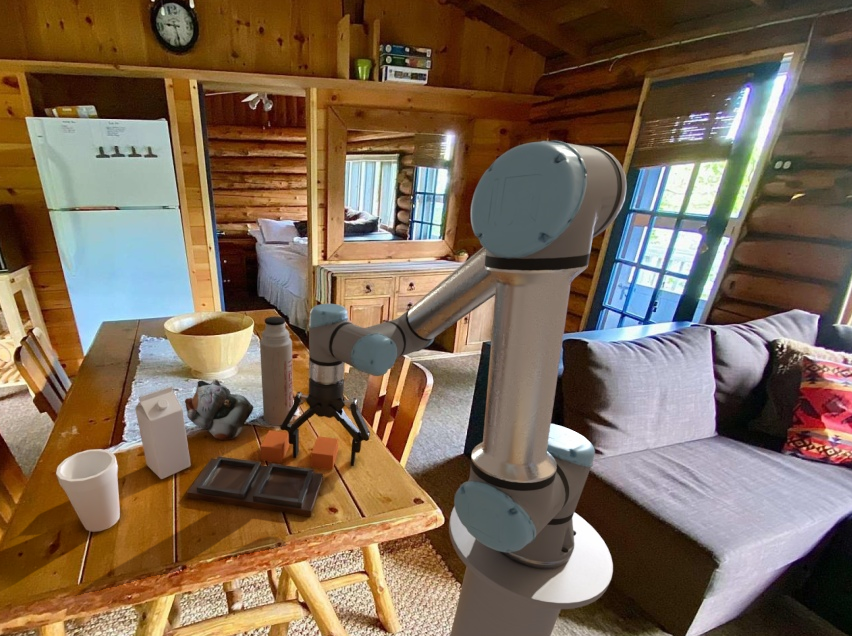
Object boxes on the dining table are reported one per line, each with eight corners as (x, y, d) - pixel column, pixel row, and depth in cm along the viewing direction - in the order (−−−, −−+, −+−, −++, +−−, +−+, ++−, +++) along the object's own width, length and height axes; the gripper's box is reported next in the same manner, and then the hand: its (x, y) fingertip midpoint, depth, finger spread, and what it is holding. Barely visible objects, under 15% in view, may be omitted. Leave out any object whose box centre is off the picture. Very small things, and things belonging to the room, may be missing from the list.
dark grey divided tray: (323, 478, 97) (323, 468, 96) (311, 516, 86) (311, 506, 85) (211, 463, 101) (210, 453, 99) (187, 498, 90) (185, 487, 89)
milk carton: (146, 465, 99) (131, 391, 91) (175, 453, 104) (164, 381, 95) (161, 480, 95) (146, 403, 86) (191, 466, 99) (180, 392, 91)
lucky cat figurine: (231, 446, 107) (197, 404, 100) (200, 448, 114) (166, 409, 107) (262, 405, 116) (232, 364, 110) (232, 409, 124) (202, 371, 117)
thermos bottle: (299, 415, 121) (298, 317, 108) (281, 428, 115) (278, 326, 102) (276, 407, 124) (272, 311, 112) (257, 419, 118) (251, 319, 106)
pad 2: (337, 452, 106) (338, 438, 104) (332, 470, 100) (333, 455, 98) (317, 449, 107) (317, 436, 105) (311, 467, 100) (311, 452, 99)
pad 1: (289, 446, 108) (289, 432, 106) (281, 463, 101) (281, 448, 100) (269, 443, 108) (269, 430, 107) (260, 460, 102) (259, 446, 100)
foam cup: (139, 508, 87) (126, 454, 81) (105, 542, 79) (88, 485, 73) (99, 498, 89) (84, 445, 83) (62, 530, 81) (43, 474, 75)
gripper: (386, 376, 95) (378, 456, 105) (275, 364, 99) (277, 442, 108) (383, 392, 88) (375, 475, 98) (264, 378, 92) (268, 460, 102)
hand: (324, 458), depth 103 cm, fingers open, 13 cm apart
